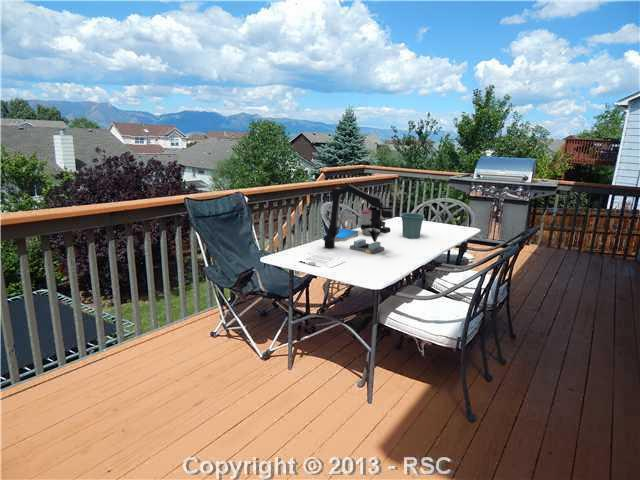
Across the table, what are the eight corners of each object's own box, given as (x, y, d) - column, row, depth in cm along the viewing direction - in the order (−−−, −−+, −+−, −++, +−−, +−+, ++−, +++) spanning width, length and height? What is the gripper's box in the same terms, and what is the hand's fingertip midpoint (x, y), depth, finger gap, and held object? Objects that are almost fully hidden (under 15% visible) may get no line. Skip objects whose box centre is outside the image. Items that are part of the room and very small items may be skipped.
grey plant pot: (384, 237, 295) (385, 208, 290) (359, 237, 295) (360, 208, 290) (381, 231, 312) (382, 204, 307) (357, 231, 313) (358, 204, 308)
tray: (310, 253, 256) (311, 247, 254) (348, 263, 240) (348, 257, 239) (289, 261, 240) (289, 255, 239) (328, 272, 224) (328, 266, 223)
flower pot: (421, 234, 305) (422, 213, 301) (424, 239, 289) (426, 217, 285) (398, 233, 306) (400, 212, 302) (400, 239, 290) (402, 216, 286)
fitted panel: (357, 249, 258) (357, 242, 257) (353, 248, 260) (353, 241, 259) (365, 246, 265) (365, 239, 264) (361, 246, 267) (362, 238, 266)
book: (358, 230, 299) (345, 237, 278) (358, 236, 300) (344, 243, 279) (337, 228, 307) (322, 234, 285) (337, 233, 308) (322, 240, 286)
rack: (372, 256, 248) (373, 251, 247) (348, 250, 260) (348, 245, 259) (384, 251, 258) (384, 247, 257) (360, 246, 270) (360, 242, 269)
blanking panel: (372, 252, 251) (372, 245, 250) (368, 252, 253) (368, 244, 252) (380, 250, 258) (380, 242, 257) (376, 249, 260) (376, 241, 259)
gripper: (395, 217, 250) (394, 241, 254) (370, 213, 262) (369, 237, 266) (386, 220, 242) (384, 245, 246) (360, 216, 254) (359, 240, 258)
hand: (374, 241), depth 254 cm, fingers closed
